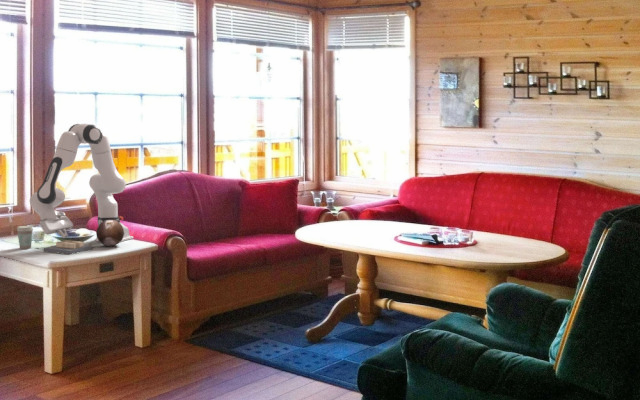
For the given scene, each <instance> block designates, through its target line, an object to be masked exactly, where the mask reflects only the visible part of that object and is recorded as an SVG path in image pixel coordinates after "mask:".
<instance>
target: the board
mask: <svg viewBox="0 0 640 400" xmlns="http://www.w3.org/2000/svg"><path fill="white" fill-rule="evenodd" d="M42 249H43V252H44V253H51V252H59V253H58V254H60V253H67V254H66V255H70V254H71V255H73V254H72V253H75V254H77V252H79V253H82V252H85V251H90V250H92V249H93V245H89V244H84V246H83V247H80V248H76V249H71V248H60V247H56V244H55V245H50V246H47V247H43V248H42Z"/></svg>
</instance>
